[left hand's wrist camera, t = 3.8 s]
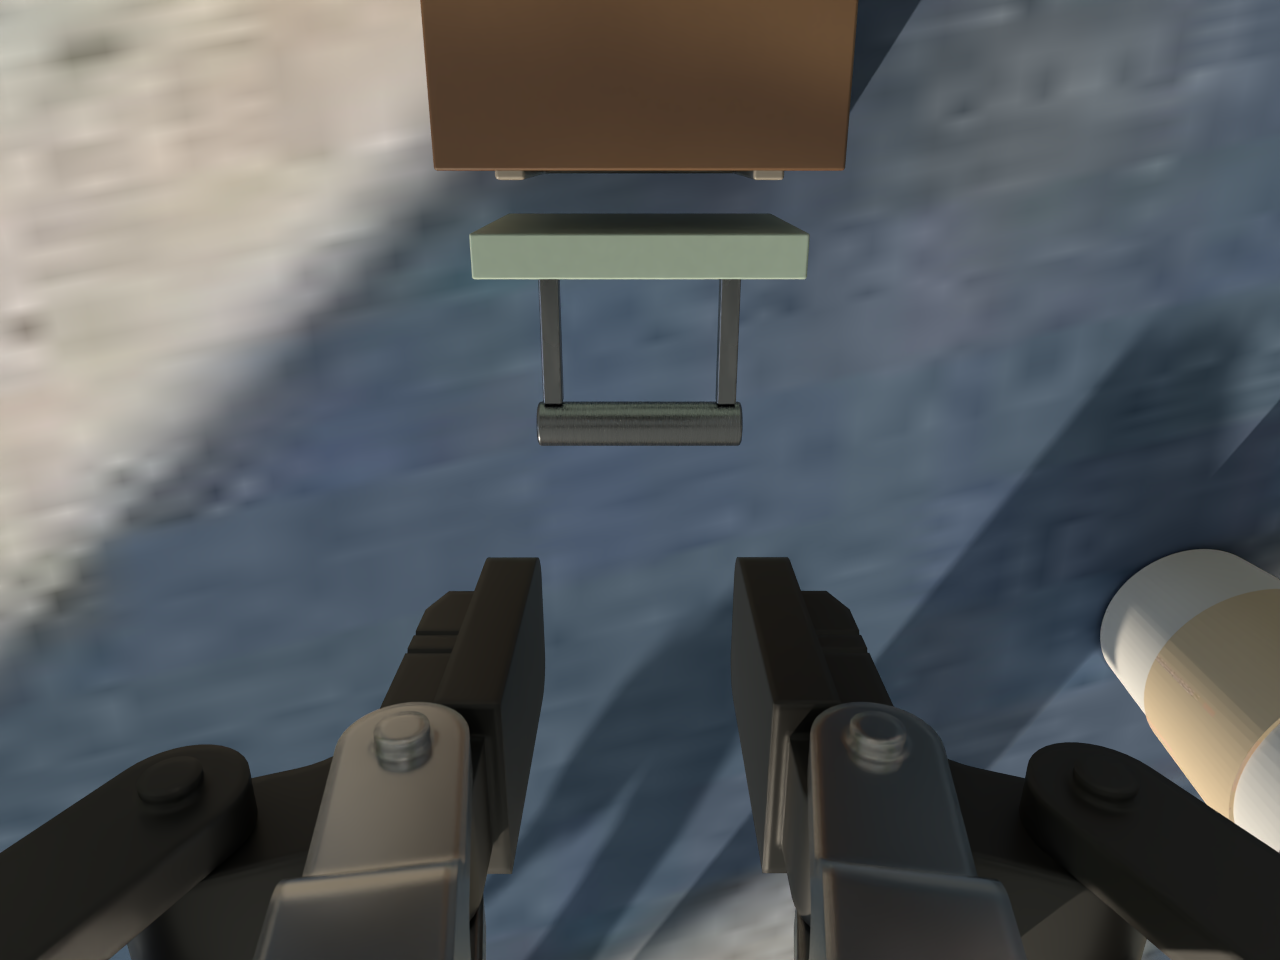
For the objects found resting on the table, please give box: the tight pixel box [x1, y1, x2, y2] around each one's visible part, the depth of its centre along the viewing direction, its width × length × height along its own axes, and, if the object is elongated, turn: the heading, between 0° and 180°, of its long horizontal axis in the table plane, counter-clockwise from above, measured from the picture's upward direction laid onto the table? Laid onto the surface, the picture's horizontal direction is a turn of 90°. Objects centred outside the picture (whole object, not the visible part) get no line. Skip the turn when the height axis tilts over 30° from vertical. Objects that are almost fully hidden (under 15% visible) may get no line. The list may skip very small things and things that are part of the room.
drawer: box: [470, 171, 810, 446], centre depth 25 cm, size 20×9×7 cm, turn 0°
